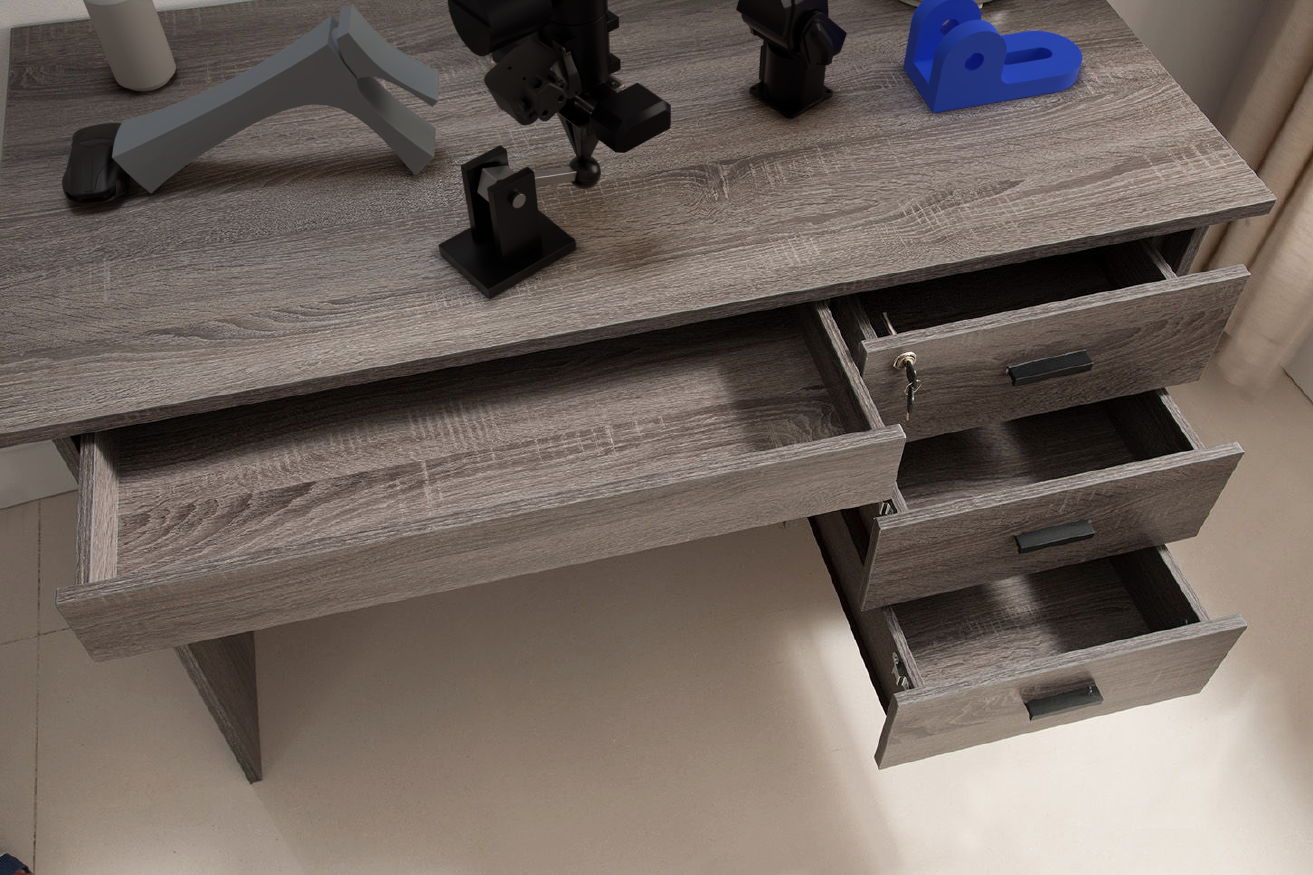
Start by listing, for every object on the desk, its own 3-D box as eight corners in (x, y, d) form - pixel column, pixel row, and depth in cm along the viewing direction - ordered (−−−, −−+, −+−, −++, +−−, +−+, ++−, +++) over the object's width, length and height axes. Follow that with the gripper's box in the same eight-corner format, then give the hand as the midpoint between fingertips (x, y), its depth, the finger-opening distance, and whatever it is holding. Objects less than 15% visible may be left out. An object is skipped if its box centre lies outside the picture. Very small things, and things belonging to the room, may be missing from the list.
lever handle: (582, 177, 118) (590, 146, 116) (603, 193, 116) (611, 163, 115) (472, 193, 110) (479, 161, 108) (493, 211, 108) (500, 179, 106)
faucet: (230, 268, 128) (474, 153, 119) (109, 156, 116) (371, 19, 107) (238, 229, 132) (475, 114, 123) (121, 116, 120) (375, -19, 111)
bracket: (933, 113, 128) (948, 37, 121) (903, 67, 133) (916, -8, 126) (1091, 86, 131) (1115, 10, 124) (1055, 42, 136) (1077, -33, 129)
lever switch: (525, 207, 119) (515, 124, 111) (576, 250, 115) (570, 166, 107) (439, 254, 115) (423, 170, 107) (489, 299, 111) (476, 216, 103)
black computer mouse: (141, 134, 127) (128, 103, 124) (127, 211, 119) (113, 179, 116) (83, 140, 126) (69, 109, 123) (66, 217, 119) (50, 186, 116)
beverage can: (124, 101, 130) (82, -1, 121) (111, 70, 134) (69, -32, 124) (184, 84, 132) (147, -18, 123) (170, 54, 135) (133, -48, 126)
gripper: (429, -5, 103) (454, 146, 115) (566, 96, 94) (578, 248, 106) (535, -51, 108) (548, 99, 120) (675, 41, 99) (674, 193, 111)
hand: (583, 157), depth 114 cm, fingers closed, pressing on lever handle
